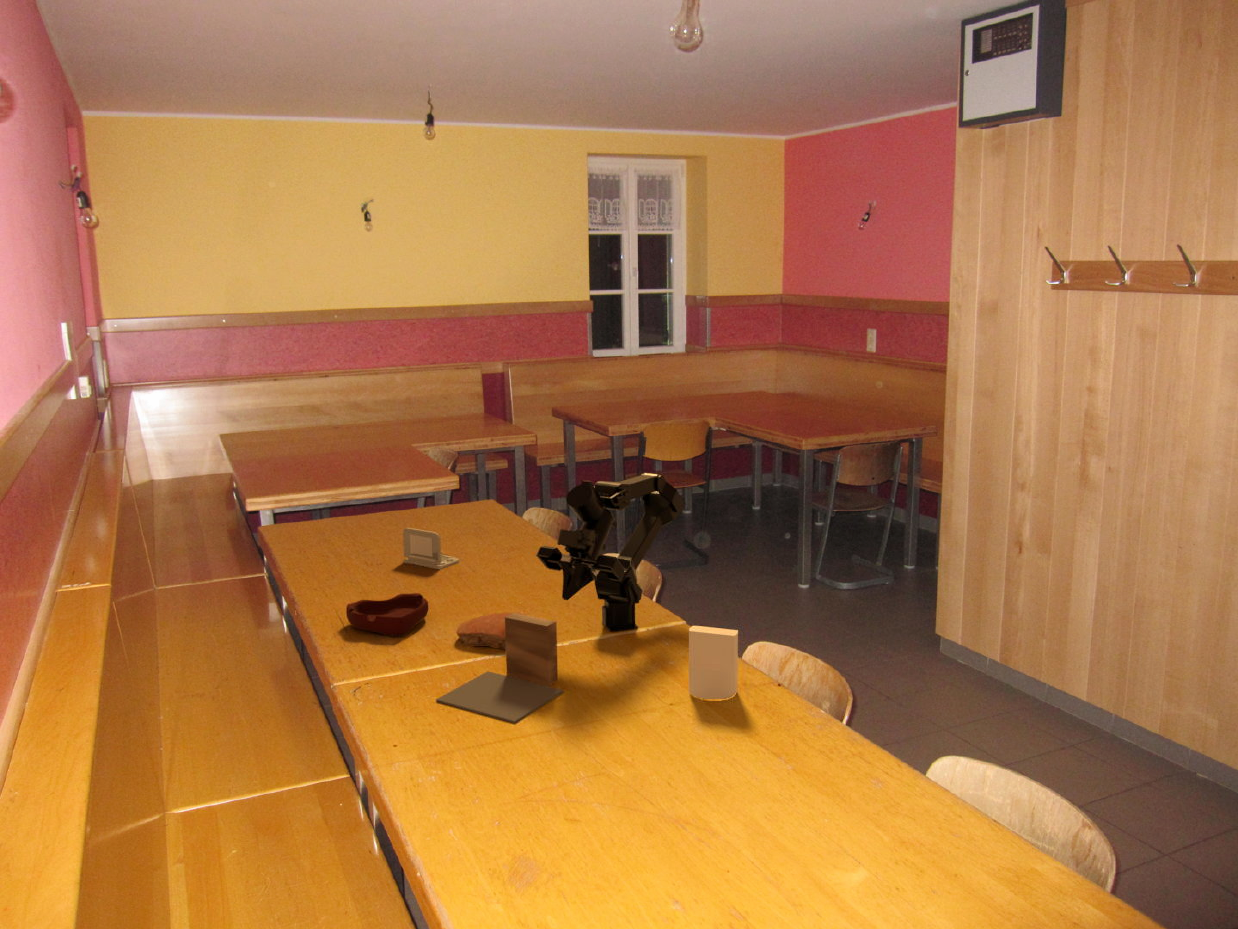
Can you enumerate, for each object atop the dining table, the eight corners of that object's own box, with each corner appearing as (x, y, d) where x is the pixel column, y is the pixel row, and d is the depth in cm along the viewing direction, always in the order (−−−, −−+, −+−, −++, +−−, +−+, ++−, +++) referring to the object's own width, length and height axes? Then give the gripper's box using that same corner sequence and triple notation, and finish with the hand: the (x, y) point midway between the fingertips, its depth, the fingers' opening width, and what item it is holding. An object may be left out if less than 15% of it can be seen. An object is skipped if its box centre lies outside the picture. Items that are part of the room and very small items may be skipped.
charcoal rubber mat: (487, 673, 190) (487, 671, 190) (563, 692, 181) (563, 690, 181) (436, 701, 178) (436, 699, 178) (514, 723, 169) (514, 721, 169)
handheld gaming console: (461, 561, 267) (459, 526, 265) (438, 570, 260) (436, 534, 258) (426, 555, 274) (424, 520, 272) (403, 563, 267) (401, 528, 265)
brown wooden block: (517, 669, 192) (515, 612, 190) (558, 680, 187) (557, 620, 185) (506, 675, 189) (504, 617, 187) (548, 686, 184) (547, 626, 182)
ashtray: (360, 646, 206) (358, 624, 205) (343, 623, 220) (342, 602, 219) (441, 632, 214) (440, 610, 213) (420, 610, 228) (419, 590, 227)
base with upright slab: (741, 685, 184) (742, 625, 181) (731, 704, 175) (732, 641, 173) (695, 679, 187) (696, 620, 184) (683, 698, 178) (683, 636, 176)
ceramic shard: (474, 601, 218) (537, 615, 215) (469, 629, 218) (533, 643, 216) (450, 615, 203) (518, 629, 201) (446, 644, 204) (514, 659, 201)
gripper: (540, 507, 201) (509, 572, 194) (617, 518, 192) (587, 586, 185) (562, 536, 209) (533, 599, 202) (637, 547, 200) (609, 614, 193)
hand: (564, 599), depth 195 cm, fingers closed
